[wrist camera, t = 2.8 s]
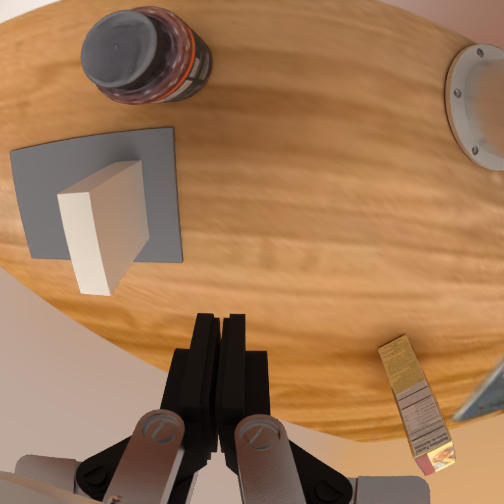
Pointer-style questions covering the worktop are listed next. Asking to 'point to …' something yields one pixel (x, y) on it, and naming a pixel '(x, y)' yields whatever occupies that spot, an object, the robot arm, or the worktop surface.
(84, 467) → the robot arm
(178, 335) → the worktop surface
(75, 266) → the block
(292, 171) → the worktop surface
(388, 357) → the candy box
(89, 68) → the supplement bottle
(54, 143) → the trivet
